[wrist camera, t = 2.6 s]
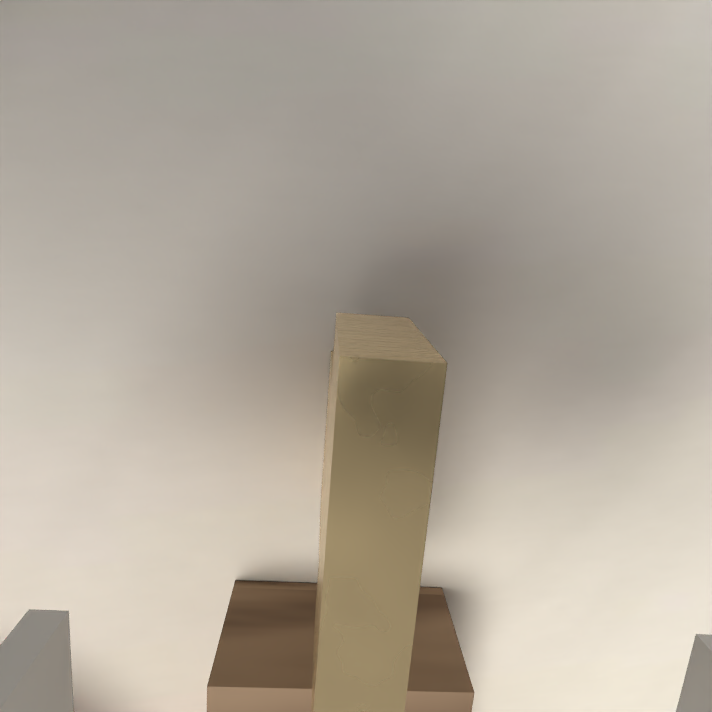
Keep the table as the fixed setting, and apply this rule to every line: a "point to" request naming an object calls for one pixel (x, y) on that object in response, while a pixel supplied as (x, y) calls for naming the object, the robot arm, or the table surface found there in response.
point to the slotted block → (296, 644)
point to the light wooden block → (374, 510)
